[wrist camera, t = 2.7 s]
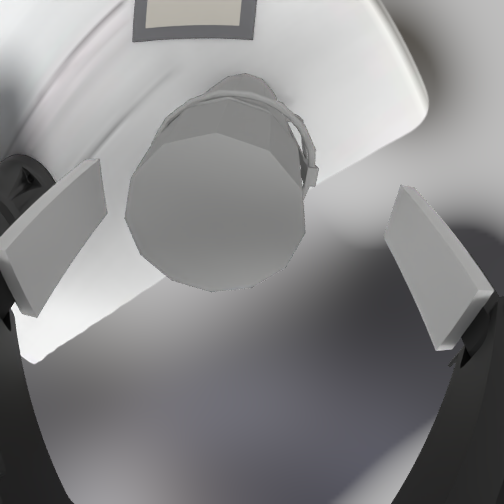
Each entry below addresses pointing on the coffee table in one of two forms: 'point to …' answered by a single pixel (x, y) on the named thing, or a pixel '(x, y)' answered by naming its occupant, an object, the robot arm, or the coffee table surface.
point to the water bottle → (223, 188)
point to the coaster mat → (193, 19)
